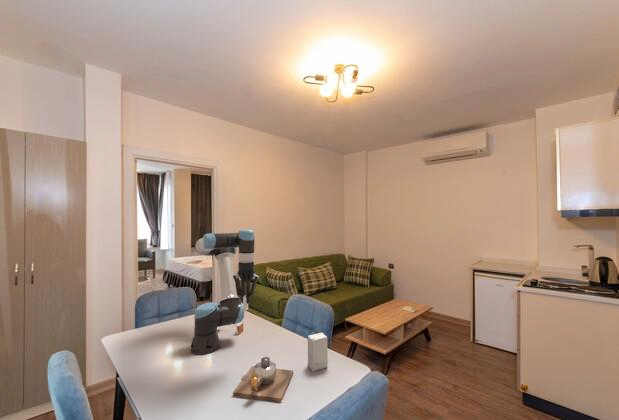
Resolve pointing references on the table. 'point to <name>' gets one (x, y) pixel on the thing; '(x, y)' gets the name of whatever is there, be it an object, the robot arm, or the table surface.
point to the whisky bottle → (240, 328)
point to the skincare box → (317, 351)
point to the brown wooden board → (265, 386)
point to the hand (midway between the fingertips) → (245, 309)
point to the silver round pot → (263, 373)
